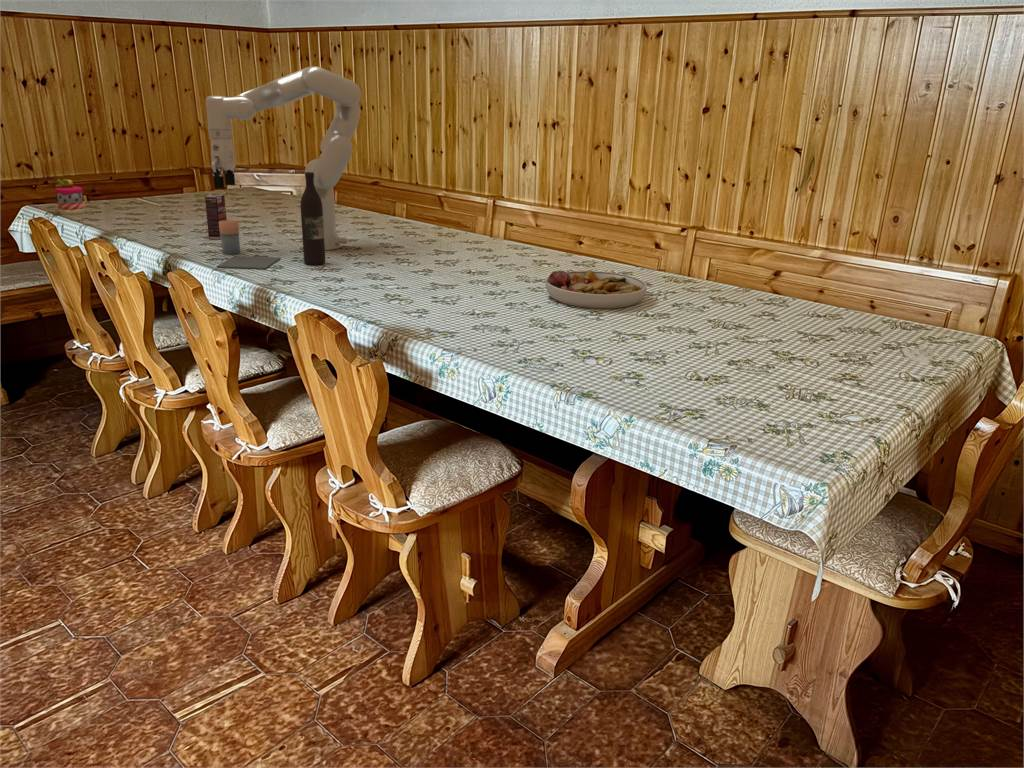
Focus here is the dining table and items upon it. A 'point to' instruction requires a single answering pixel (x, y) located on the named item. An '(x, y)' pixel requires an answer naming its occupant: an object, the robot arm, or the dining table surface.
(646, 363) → the dining table surface
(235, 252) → the gray cylinder
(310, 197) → the wine bottle
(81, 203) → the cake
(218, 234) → the supplement box
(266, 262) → the mat
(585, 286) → the bowl
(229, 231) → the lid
